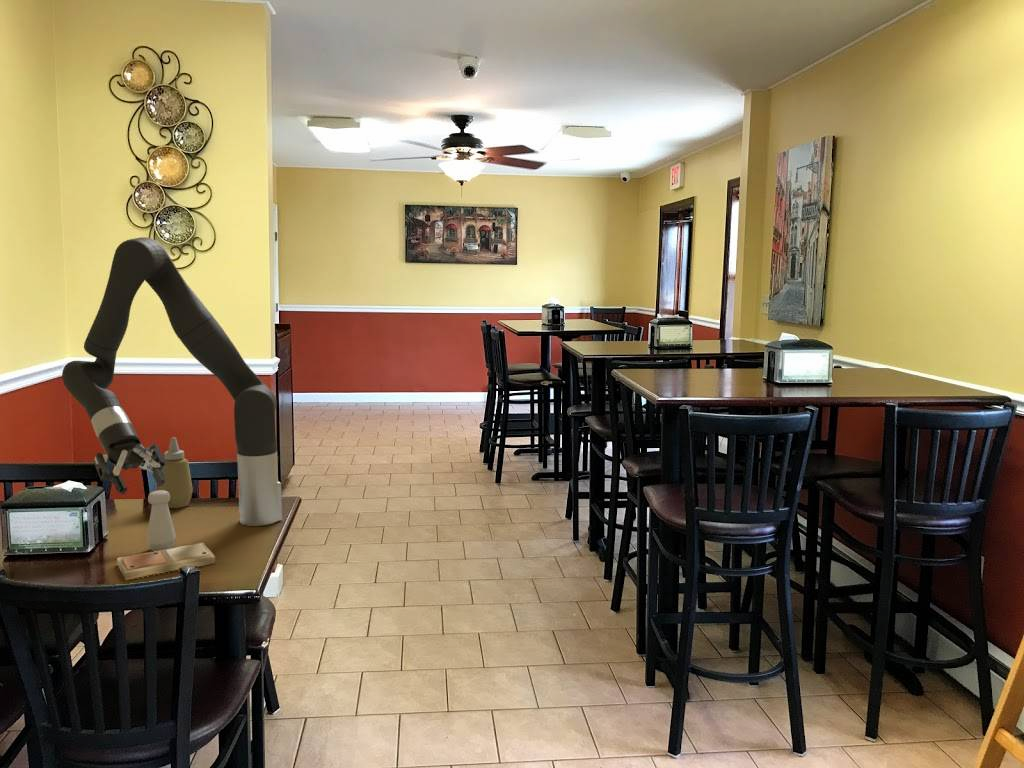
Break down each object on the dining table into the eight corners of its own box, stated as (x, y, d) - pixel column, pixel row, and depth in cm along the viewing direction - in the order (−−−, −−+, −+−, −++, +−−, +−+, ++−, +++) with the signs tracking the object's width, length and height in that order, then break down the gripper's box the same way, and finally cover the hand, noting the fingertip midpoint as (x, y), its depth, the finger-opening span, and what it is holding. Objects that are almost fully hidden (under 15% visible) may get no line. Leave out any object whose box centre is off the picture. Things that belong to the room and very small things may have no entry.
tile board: (203, 549, 171) (202, 540, 170) (215, 563, 163) (214, 554, 162) (117, 564, 161) (117, 556, 161) (126, 580, 153) (125, 571, 153)
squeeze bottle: (187, 510, 198) (184, 441, 196) (154, 510, 198) (151, 441, 195) (197, 501, 206) (194, 434, 204) (166, 501, 206) (162, 434, 203)
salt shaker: (164, 554, 167) (161, 496, 165) (141, 552, 168) (138, 494, 166) (181, 545, 173) (178, 489, 171) (158, 543, 174) (155, 487, 172)
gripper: (87, 425, 170) (116, 485, 165) (150, 416, 181) (179, 472, 176) (77, 445, 174) (106, 504, 169) (140, 436, 185) (168, 491, 180)
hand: (143, 488), depth 172 cm, fingers open, 8 cm apart
